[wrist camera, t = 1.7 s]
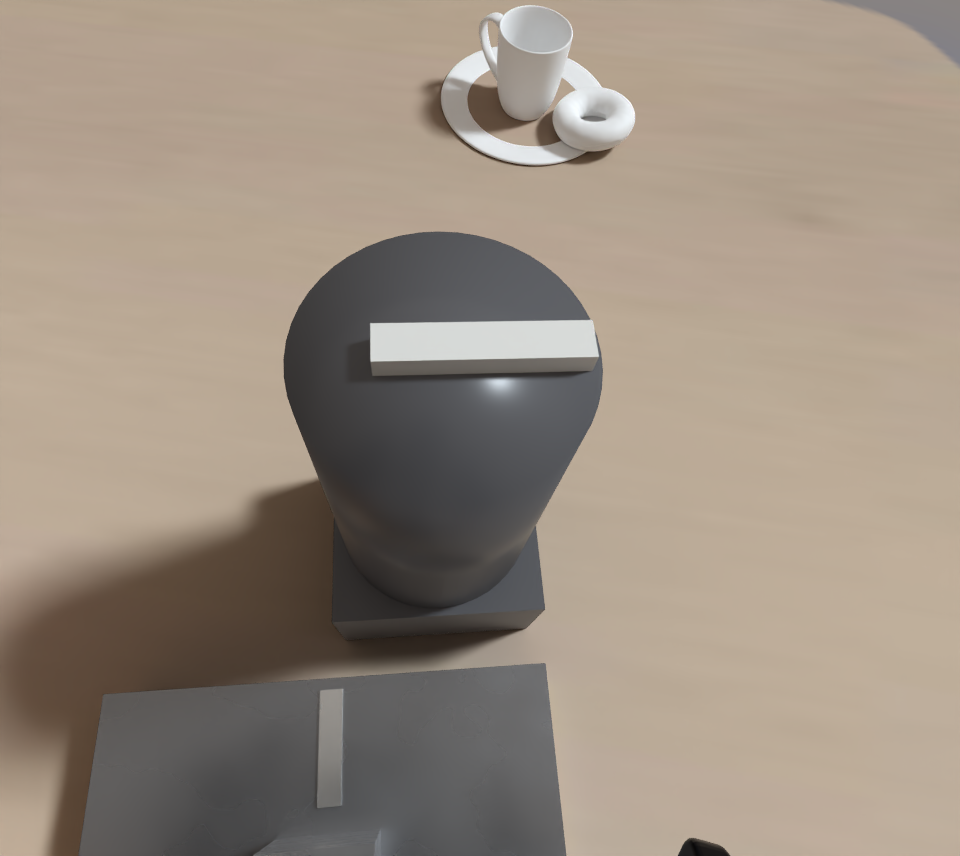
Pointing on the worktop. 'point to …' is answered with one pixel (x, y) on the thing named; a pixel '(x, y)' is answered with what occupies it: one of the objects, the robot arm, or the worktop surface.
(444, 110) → the teacup and saucer
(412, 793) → the plate
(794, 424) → the worktop surface
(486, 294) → the knob
